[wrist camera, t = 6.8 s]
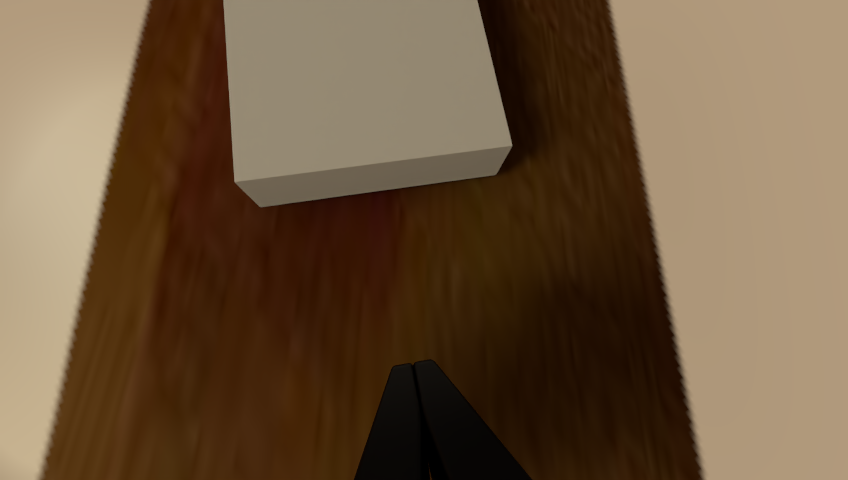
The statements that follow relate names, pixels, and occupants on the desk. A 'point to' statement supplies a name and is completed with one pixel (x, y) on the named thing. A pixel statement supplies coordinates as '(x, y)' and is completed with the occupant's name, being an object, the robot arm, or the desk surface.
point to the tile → (359, 96)
